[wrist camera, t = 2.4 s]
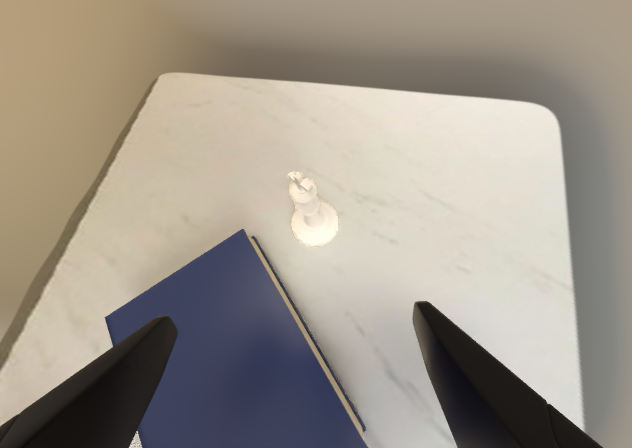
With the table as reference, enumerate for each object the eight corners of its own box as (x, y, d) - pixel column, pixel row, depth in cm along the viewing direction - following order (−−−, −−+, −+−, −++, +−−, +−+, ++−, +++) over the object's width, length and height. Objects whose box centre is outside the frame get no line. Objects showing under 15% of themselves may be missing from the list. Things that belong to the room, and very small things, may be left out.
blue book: (365, 428, 18) (370, 454, 15) (212, 545, 17) (185, 598, 14) (254, 236, 23) (242, 228, 21) (134, 314, 22) (104, 317, 19)
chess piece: (318, 257, 22) (303, 229, 13) (282, 228, 23) (242, 183, 14) (348, 218, 23) (355, 166, 13) (311, 193, 24) (293, 128, 15)
